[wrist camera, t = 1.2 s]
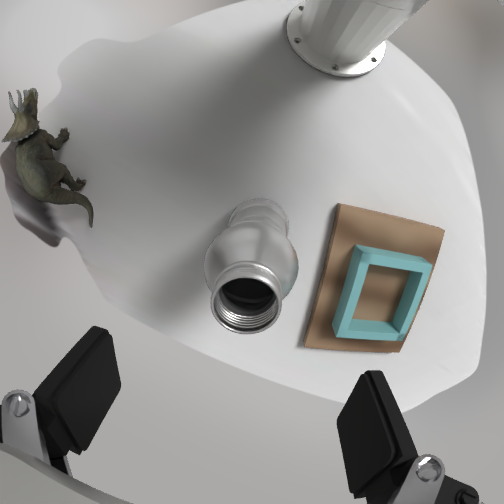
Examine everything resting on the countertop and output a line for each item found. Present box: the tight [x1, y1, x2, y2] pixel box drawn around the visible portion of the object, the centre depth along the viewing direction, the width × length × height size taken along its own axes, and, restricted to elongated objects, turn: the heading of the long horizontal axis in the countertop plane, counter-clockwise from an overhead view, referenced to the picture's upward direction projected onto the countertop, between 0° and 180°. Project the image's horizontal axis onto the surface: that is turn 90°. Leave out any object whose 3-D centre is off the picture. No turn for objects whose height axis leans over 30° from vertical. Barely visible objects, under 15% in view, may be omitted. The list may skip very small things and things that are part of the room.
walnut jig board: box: [303, 203, 445, 352], centre depth 32 cm, size 20×16×4 cm
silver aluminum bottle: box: [204, 199, 298, 334], centre depth 23 cm, size 6×7×20 cm
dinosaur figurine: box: [2, 88, 93, 228], centre depth 26 cm, size 22×8×11 cm, turn 23°
